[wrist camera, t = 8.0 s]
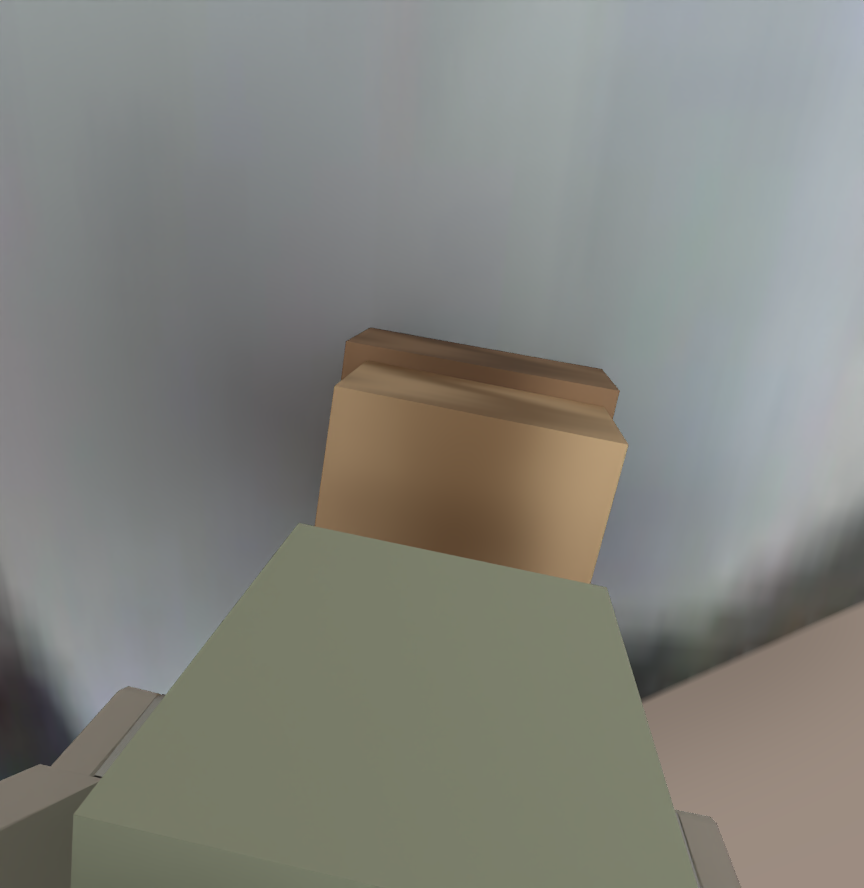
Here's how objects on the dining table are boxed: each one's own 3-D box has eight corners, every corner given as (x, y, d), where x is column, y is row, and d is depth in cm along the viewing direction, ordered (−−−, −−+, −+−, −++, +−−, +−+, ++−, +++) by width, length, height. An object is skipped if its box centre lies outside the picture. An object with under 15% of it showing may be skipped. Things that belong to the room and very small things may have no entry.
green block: (264, 774, 12) (57, 1220, 7) (299, 522, 11) (74, 814, 5) (537, 836, 12) (565, 1358, 6) (606, 587, 11) (722, 967, 5)
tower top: (334, 572, 22) (298, 640, 18) (367, 359, 20) (334, 386, 16) (549, 619, 22) (559, 697, 18) (604, 407, 20) (628, 444, 16)
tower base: (342, 536, 26) (314, 585, 22) (371, 327, 24) (345, 341, 20) (551, 576, 26) (559, 633, 22) (600, 368, 23) (619, 390, 20)
